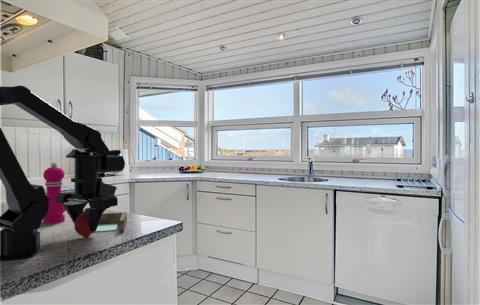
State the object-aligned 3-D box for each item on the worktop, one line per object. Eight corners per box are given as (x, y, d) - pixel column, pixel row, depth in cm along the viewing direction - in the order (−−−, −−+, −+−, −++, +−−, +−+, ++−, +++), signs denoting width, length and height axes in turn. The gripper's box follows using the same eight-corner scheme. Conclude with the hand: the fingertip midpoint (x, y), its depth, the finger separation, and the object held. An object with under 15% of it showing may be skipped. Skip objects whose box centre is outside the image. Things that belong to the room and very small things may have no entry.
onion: (87, 241, 75) (87, 211, 75) (69, 240, 76) (69, 210, 76) (102, 235, 81) (102, 207, 81) (85, 233, 82) (85, 206, 82)
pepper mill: (68, 218, 101) (68, 162, 101) (63, 223, 94) (64, 162, 94) (44, 219, 98) (44, 162, 98) (38, 225, 92) (38, 163, 91)
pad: (87, 232, 83) (87, 231, 83) (92, 226, 91) (92, 225, 91) (115, 230, 86) (115, 229, 86) (118, 224, 93) (118, 223, 93)
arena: (82, 235, 81) (82, 222, 81) (90, 224, 93) (90, 213, 93) (123, 231, 84) (124, 220, 84) (126, 222, 96) (126, 211, 96)
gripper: (133, 173, 82) (133, 227, 82) (91, 171, 90) (91, 220, 90) (99, 176, 72) (98, 238, 72) (54, 173, 80) (54, 228, 80)
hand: (86, 230), depth 79 cm, fingers closed on onion, 6 cm apart
